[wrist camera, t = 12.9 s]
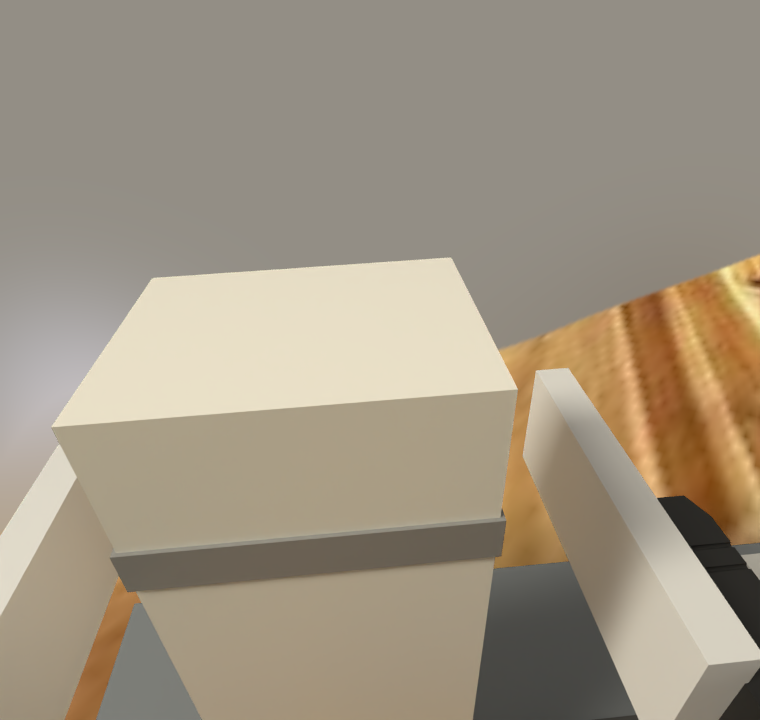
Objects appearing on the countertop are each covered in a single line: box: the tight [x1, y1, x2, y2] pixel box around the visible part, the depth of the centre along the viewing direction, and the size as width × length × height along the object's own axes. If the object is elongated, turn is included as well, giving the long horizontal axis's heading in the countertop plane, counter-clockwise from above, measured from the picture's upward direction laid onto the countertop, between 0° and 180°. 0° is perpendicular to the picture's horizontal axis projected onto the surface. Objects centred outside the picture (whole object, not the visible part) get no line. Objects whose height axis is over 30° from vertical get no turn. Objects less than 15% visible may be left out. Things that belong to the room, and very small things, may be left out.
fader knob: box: [51, 258, 518, 720], centre depth 9 cm, size 4×3×12 cm
